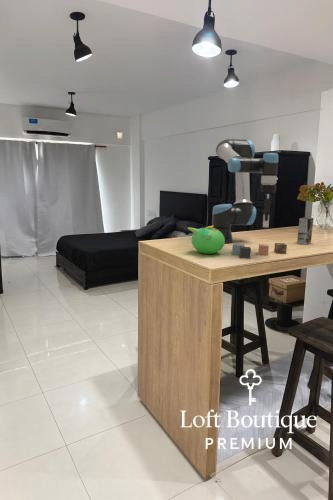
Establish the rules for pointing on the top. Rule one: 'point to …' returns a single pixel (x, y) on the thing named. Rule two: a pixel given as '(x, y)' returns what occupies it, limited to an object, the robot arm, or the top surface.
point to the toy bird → (207, 239)
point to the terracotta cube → (263, 249)
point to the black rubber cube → (245, 252)
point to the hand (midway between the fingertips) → (265, 225)
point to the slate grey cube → (236, 248)
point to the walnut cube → (280, 248)
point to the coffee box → (305, 231)
